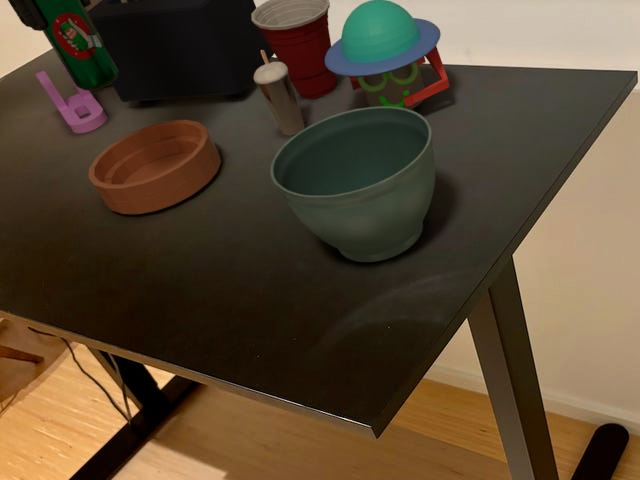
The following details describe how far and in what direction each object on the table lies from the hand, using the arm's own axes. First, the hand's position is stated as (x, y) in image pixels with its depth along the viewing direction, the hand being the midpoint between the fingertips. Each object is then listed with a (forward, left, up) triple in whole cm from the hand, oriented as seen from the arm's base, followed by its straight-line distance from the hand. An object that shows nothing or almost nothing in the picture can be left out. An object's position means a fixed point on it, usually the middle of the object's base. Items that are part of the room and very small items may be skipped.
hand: (62, 16), depth 78 cm
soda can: (0, 0, -8) cm, 8 cm away
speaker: (+24, +19, -23) cm, 38 cm away
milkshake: (+18, -7, -23) cm, 30 cm away
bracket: (+11, +34, -23) cm, 42 cm away
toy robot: (+26, -20, -23) cm, 40 cm away
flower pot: (+3, -35, -23) cm, 42 cm away
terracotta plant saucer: (+2, +2, -23) cm, 23 cm away
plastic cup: (+28, -3, -23) cm, 36 cm away
